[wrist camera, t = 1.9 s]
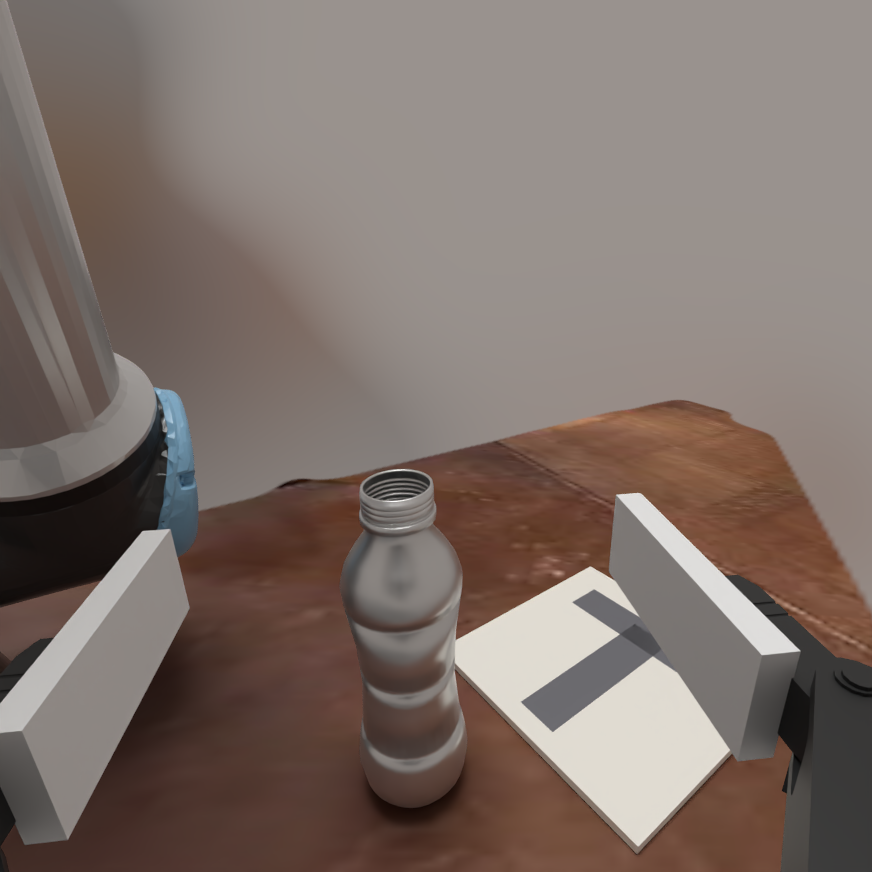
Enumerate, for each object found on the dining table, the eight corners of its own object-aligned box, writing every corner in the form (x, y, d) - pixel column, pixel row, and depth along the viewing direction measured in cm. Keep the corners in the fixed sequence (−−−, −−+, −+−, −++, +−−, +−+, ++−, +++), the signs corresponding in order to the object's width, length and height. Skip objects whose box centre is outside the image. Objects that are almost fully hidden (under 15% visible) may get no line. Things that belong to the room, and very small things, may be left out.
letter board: (440, 654, 42) (440, 648, 42) (589, 571, 52) (590, 566, 51) (636, 854, 28) (638, 847, 28) (791, 690, 38) (792, 684, 38)
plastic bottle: (487, 756, 34) (489, 473, 27) (424, 852, 29) (405, 534, 22) (408, 709, 37) (390, 448, 30) (339, 787, 32) (299, 495, 25)
